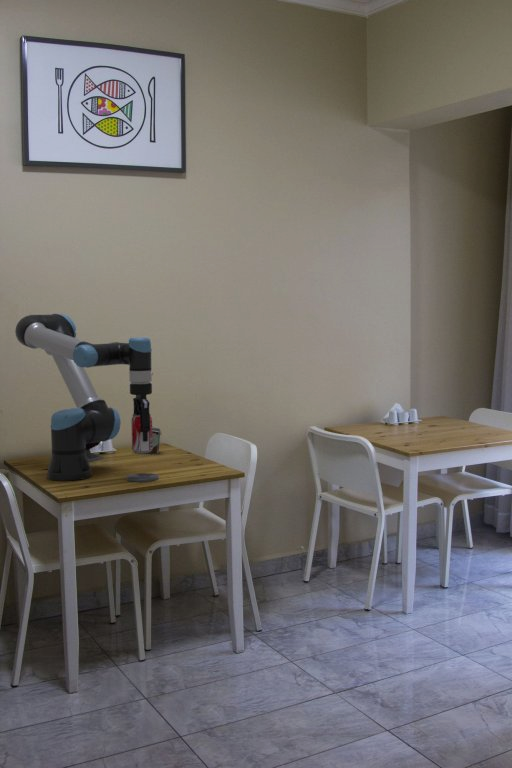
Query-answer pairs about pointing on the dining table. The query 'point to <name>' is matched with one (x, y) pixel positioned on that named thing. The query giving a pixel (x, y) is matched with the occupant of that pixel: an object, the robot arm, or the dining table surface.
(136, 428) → the soda can
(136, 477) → the slate coaster
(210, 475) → the dining table surface
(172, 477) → the dining table surface
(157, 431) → the food container
